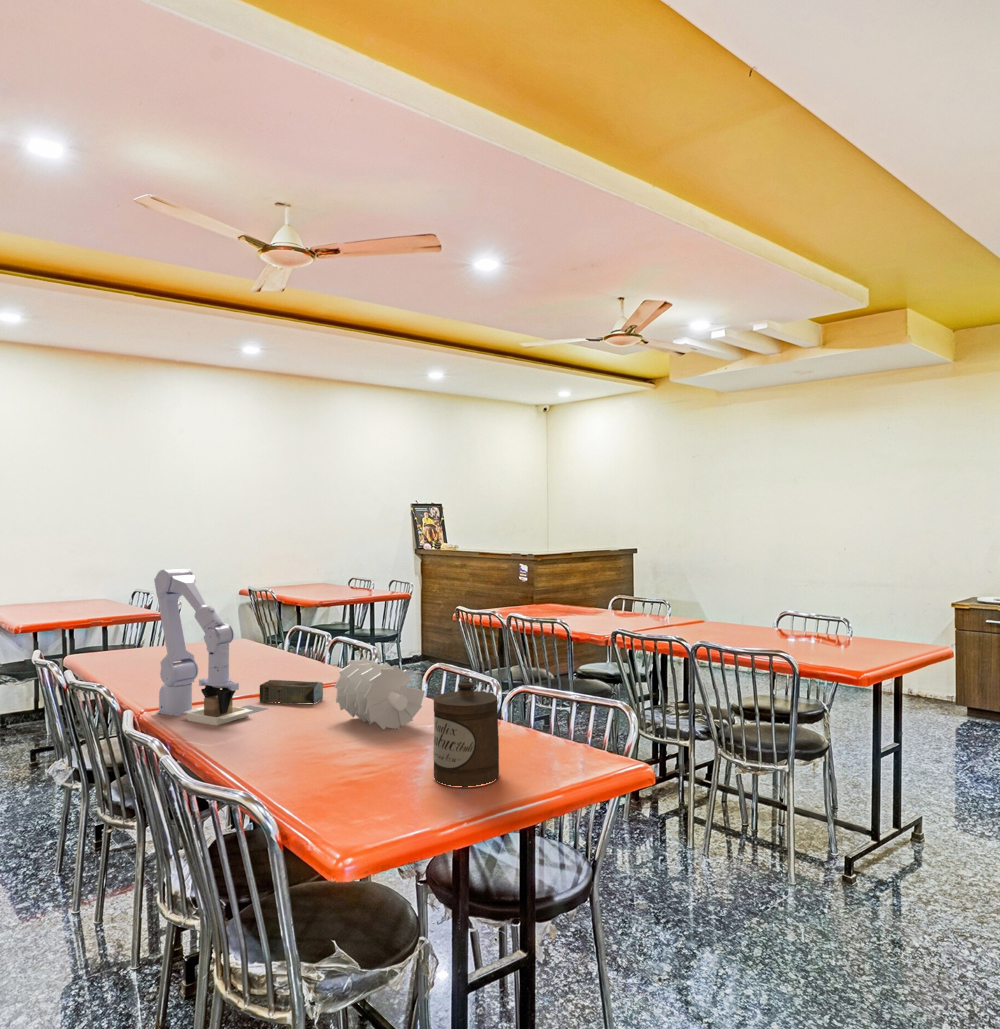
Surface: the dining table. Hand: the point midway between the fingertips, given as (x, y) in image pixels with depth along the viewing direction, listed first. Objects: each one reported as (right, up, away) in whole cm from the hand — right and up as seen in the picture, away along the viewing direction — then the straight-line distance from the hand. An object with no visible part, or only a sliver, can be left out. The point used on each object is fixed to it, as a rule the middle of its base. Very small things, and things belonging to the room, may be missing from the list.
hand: (218, 712), depth 220 cm
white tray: (0, -2, 0) cm, 2 cm away
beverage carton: (+15, -3, +23) cm, 28 cm away
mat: (+5, -2, +10) cm, 11 cm away
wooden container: (+76, -1, -51) cm, 92 cm away
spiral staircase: (+48, -2, -4) cm, 48 cm away
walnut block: (0, -1, 0) cm, 1 cm away
